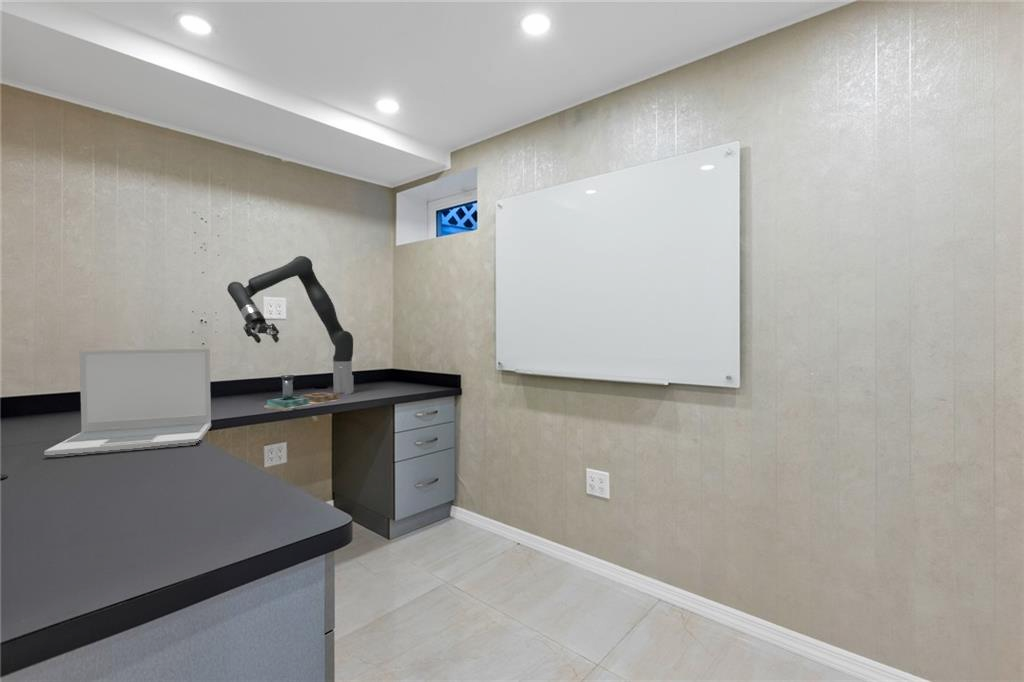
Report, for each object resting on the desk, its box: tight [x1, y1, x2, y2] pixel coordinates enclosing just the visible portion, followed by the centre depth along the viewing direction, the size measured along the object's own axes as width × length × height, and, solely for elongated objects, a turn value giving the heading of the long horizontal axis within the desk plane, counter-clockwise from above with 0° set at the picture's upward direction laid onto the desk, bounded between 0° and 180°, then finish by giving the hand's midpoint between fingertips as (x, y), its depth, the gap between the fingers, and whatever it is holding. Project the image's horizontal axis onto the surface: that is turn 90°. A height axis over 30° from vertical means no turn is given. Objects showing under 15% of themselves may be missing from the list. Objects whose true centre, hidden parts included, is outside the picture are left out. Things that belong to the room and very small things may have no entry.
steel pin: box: [280, 374, 295, 401], centre depth 210 cm, size 5×5×13 cm
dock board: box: [263, 391, 342, 412], centre depth 217 cm, size 29×15×4 cm, turn 150°
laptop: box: [43, 348, 212, 455], centre depth 147 cm, size 35×26×28 cm
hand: (268, 341), depth 216 cm, fingers open, 8 cm apart
